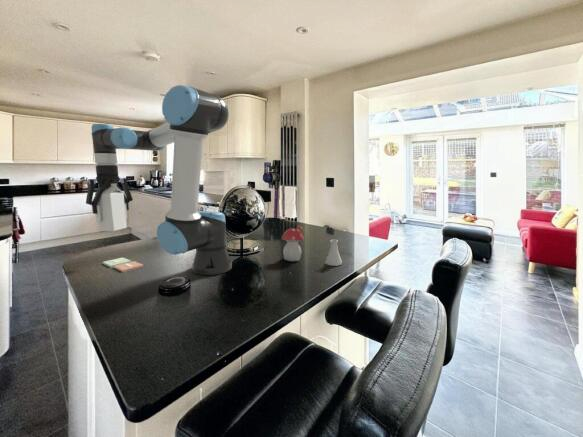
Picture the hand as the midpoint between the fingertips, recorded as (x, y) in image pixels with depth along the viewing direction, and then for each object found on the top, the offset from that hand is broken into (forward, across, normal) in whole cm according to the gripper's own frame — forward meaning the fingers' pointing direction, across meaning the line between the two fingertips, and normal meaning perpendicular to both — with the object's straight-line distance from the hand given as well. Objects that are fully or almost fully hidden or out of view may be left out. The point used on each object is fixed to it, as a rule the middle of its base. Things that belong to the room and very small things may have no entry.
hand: (112, 219), depth 122 cm
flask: (+19, -55, +73) cm, 93 cm away
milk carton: (+4, 0, 0) cm, 4 cm away
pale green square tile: (+19, 0, 0) cm, 19 cm away
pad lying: (+19, 0, +10) cm, 21 cm away
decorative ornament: (+19, -49, +56) cm, 77 cm away
